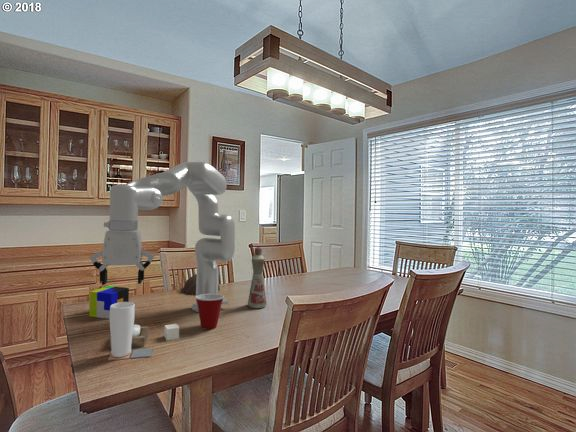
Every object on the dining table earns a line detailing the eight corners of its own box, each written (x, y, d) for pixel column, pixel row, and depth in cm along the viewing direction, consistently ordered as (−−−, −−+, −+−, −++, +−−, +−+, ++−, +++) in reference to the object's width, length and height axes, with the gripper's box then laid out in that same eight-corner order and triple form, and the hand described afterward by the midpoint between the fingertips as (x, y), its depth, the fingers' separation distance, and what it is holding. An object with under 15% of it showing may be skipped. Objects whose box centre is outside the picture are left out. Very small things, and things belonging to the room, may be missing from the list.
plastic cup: (223, 321, 130) (224, 291, 129) (223, 331, 119) (224, 299, 119) (195, 322, 127) (196, 291, 127) (193, 332, 117) (194, 299, 117)
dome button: (141, 335, 111) (141, 323, 111) (138, 342, 105) (138, 330, 105) (122, 336, 109) (122, 325, 109) (118, 344, 104) (118, 331, 103)
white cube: (176, 334, 115) (176, 323, 115) (178, 338, 111) (179, 327, 111) (164, 336, 113) (164, 325, 112) (166, 341, 109) (167, 329, 109)
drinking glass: (114, 349, 101) (115, 301, 100) (137, 349, 101) (138, 301, 101) (104, 359, 94) (105, 308, 94) (128, 359, 95) (129, 308, 94)
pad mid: (152, 349, 103) (152, 348, 103) (150, 356, 97) (150, 355, 97) (133, 350, 101) (133, 349, 101) (130, 358, 96) (130, 357, 96)
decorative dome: (223, 287, 184) (224, 269, 184) (213, 296, 164) (214, 277, 164) (190, 285, 185) (191, 268, 185) (176, 294, 165) (177, 275, 165)
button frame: (148, 334, 113) (148, 326, 113) (144, 346, 104) (144, 337, 104) (116, 336, 111) (116, 328, 111) (109, 349, 101) (109, 340, 101)
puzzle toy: (110, 319, 127) (111, 293, 127) (89, 316, 129) (89, 291, 129) (128, 311, 137) (128, 288, 137) (107, 308, 139) (108, 285, 139)
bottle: (260, 302, 157) (262, 245, 156) (269, 307, 150) (272, 247, 149) (244, 304, 152) (246, 245, 152) (253, 310, 145) (255, 248, 144)
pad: (131, 350, 101) (131, 349, 101) (128, 358, 96) (128, 357, 96) (112, 352, 99) (112, 351, 99) (107, 360, 94) (107, 359, 94)
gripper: (86, 227, 90) (85, 287, 91) (153, 228, 95) (152, 285, 96) (94, 225, 98) (93, 281, 98) (156, 226, 102) (154, 279, 103)
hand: (122, 283), depth 97 cm, fingers open, 9 cm apart
